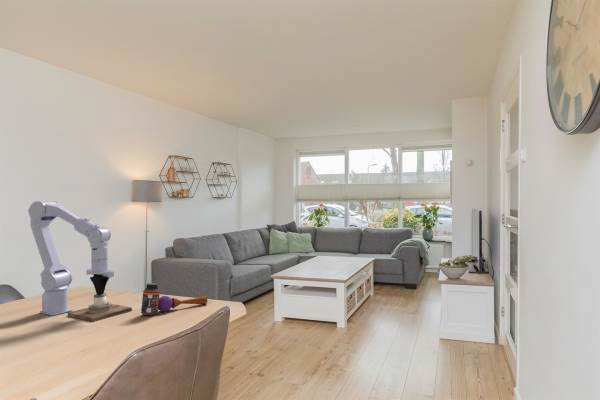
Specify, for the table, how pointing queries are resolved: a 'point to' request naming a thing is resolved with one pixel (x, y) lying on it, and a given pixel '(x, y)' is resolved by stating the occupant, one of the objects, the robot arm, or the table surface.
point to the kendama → (178, 302)
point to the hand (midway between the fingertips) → (100, 294)
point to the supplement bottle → (150, 299)
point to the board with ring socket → (99, 312)
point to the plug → (100, 300)
